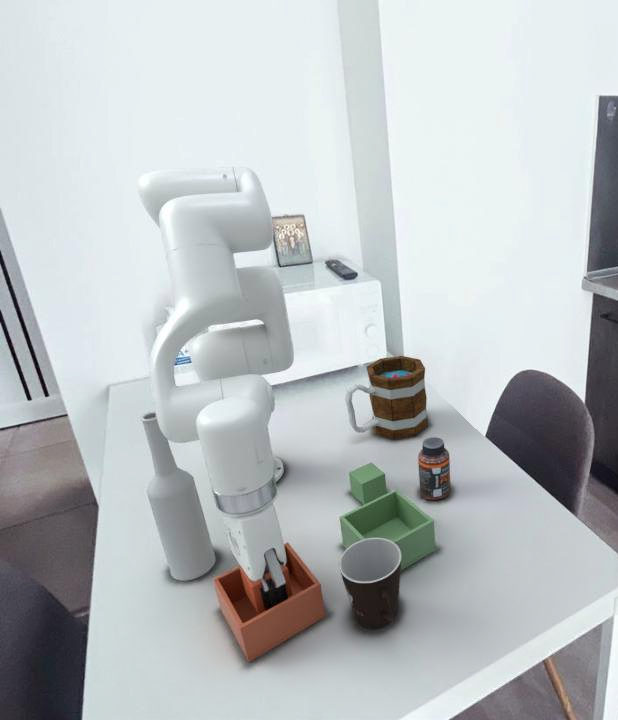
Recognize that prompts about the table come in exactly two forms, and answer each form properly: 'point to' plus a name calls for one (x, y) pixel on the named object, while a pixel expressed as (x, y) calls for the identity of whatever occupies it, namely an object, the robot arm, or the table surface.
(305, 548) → the table surface
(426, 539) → the sage bin
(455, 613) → the table surface
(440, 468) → the supplement bottle
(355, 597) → the coffee mug
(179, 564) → the bottle
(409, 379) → the mug
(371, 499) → the sage block
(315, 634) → the table surface
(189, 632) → the table surface
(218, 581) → the terracotta bin
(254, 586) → the terracotta block
